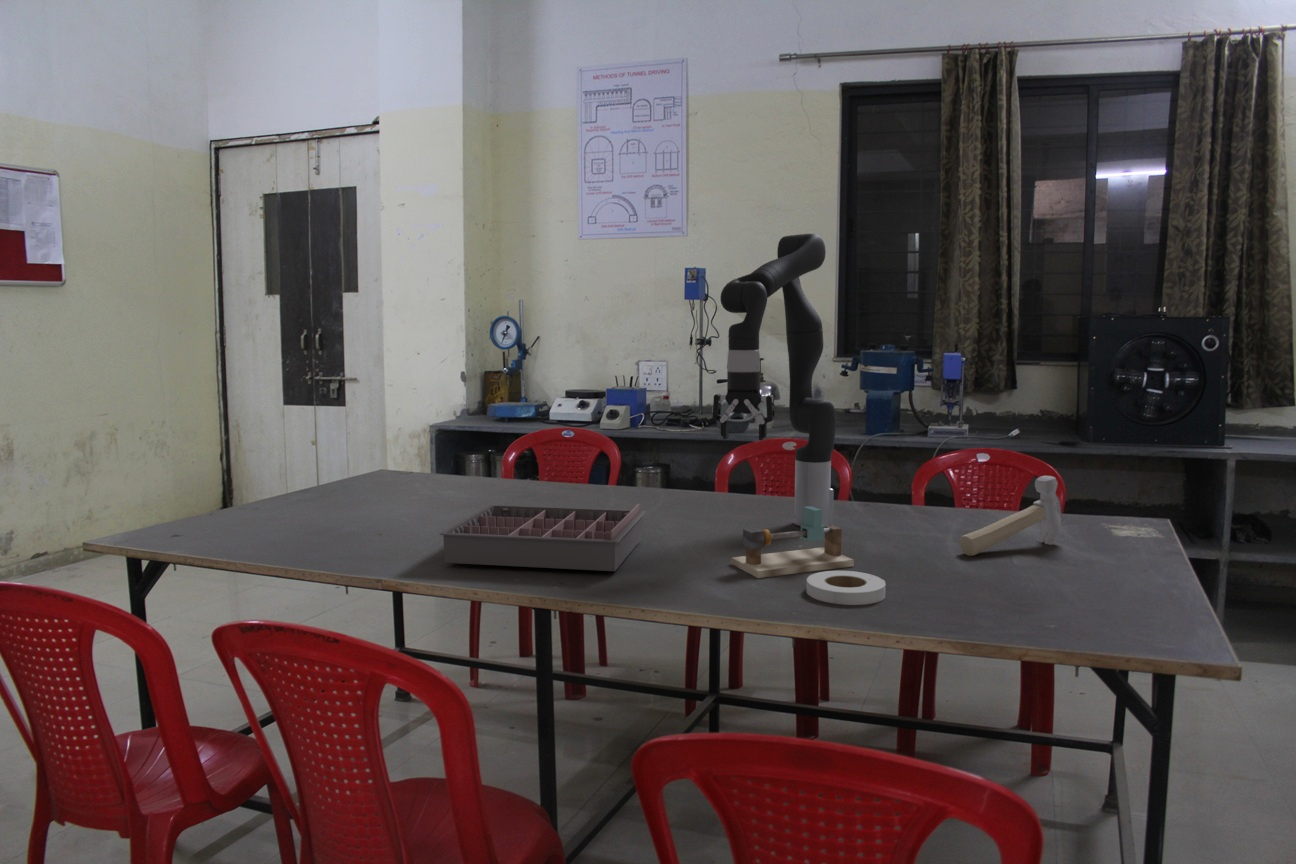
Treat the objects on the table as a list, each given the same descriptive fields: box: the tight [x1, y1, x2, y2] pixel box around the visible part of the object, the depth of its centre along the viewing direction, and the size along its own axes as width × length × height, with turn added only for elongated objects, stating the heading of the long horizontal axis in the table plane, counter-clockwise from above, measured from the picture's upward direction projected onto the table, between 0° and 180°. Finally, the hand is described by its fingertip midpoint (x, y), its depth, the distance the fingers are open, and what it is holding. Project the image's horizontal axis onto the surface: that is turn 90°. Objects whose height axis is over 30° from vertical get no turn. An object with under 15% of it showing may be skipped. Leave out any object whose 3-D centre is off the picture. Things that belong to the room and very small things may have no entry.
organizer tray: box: [439, 503, 647, 572], centre depth 216 cm, size 32×40×10 cm
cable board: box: [730, 524, 855, 579], centre depth 206 cm, size 24×12×9 cm, turn 113°
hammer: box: [959, 475, 1063, 557], centre depth 221 cm, size 16×5×30 cm
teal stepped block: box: [800, 506, 825, 542], centre depth 208 cm, size 4×4×7 cm
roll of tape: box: [805, 570, 887, 606], centre depth 186 cm, size 16×15×3 cm
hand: (743, 439), depth 217 cm, fingers open, 8 cm apart
